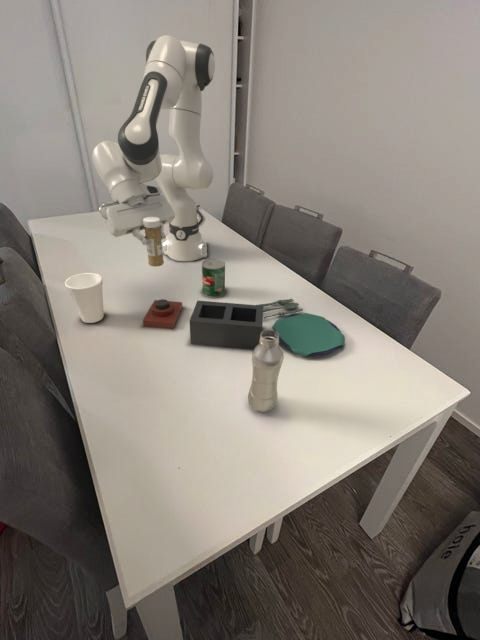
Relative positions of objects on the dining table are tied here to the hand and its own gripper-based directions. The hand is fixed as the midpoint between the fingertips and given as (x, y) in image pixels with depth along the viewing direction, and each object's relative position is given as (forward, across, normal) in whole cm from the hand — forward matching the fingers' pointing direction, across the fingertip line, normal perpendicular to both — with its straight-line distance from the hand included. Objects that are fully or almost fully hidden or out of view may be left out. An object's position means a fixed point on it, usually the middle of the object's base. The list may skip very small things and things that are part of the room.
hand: (155, 241), depth 95 cm
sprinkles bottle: (+5, 0, +6) cm, 7 cm away
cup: (+9, -18, +25) cm, 32 cm away
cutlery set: (+43, +23, -9) cm, 49 cm away
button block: (+19, -2, +14) cm, 24 cm away
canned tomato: (+19, +20, +15) cm, 31 cm away
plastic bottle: (+50, -9, -17) cm, 54 cm away
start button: (+16, -2, +12) cm, 20 cm away
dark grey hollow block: (+34, +5, 0) cm, 34 cm away
